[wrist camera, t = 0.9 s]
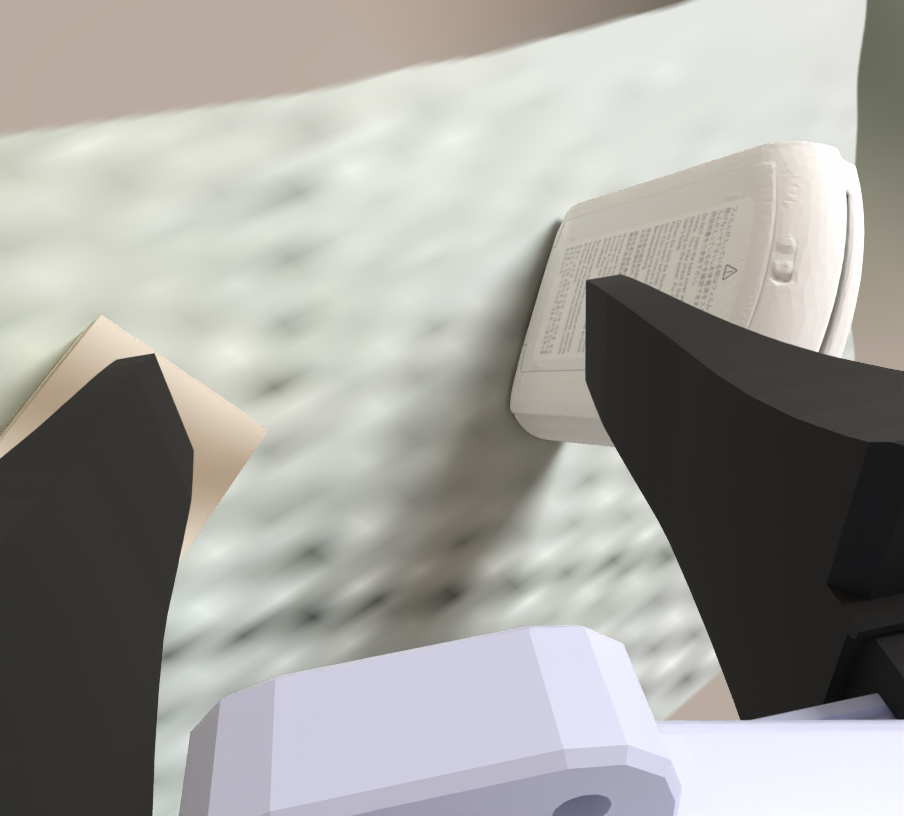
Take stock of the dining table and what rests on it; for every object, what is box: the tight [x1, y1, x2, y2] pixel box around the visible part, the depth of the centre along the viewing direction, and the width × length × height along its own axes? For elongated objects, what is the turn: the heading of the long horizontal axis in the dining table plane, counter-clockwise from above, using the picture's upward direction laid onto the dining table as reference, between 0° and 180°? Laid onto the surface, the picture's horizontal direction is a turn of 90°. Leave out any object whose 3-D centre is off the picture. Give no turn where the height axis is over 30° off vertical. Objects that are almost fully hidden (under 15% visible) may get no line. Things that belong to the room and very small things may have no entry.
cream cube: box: [0, 315, 269, 561], centre depth 20 cm, size 5×5×5 cm
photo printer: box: [510, 141, 864, 447], centre depth 26 cm, size 10×4×12 cm, turn 162°
